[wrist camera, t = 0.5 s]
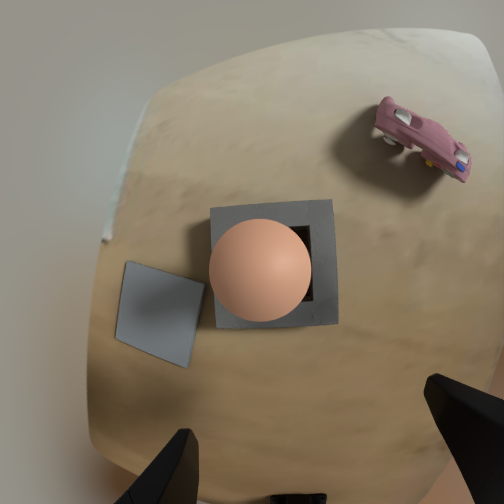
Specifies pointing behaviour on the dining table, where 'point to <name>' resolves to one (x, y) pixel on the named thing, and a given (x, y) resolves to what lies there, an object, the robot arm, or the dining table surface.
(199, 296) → the mat
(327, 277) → the eye block
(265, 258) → the pin
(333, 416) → the dining table surface
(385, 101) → the video game controller
